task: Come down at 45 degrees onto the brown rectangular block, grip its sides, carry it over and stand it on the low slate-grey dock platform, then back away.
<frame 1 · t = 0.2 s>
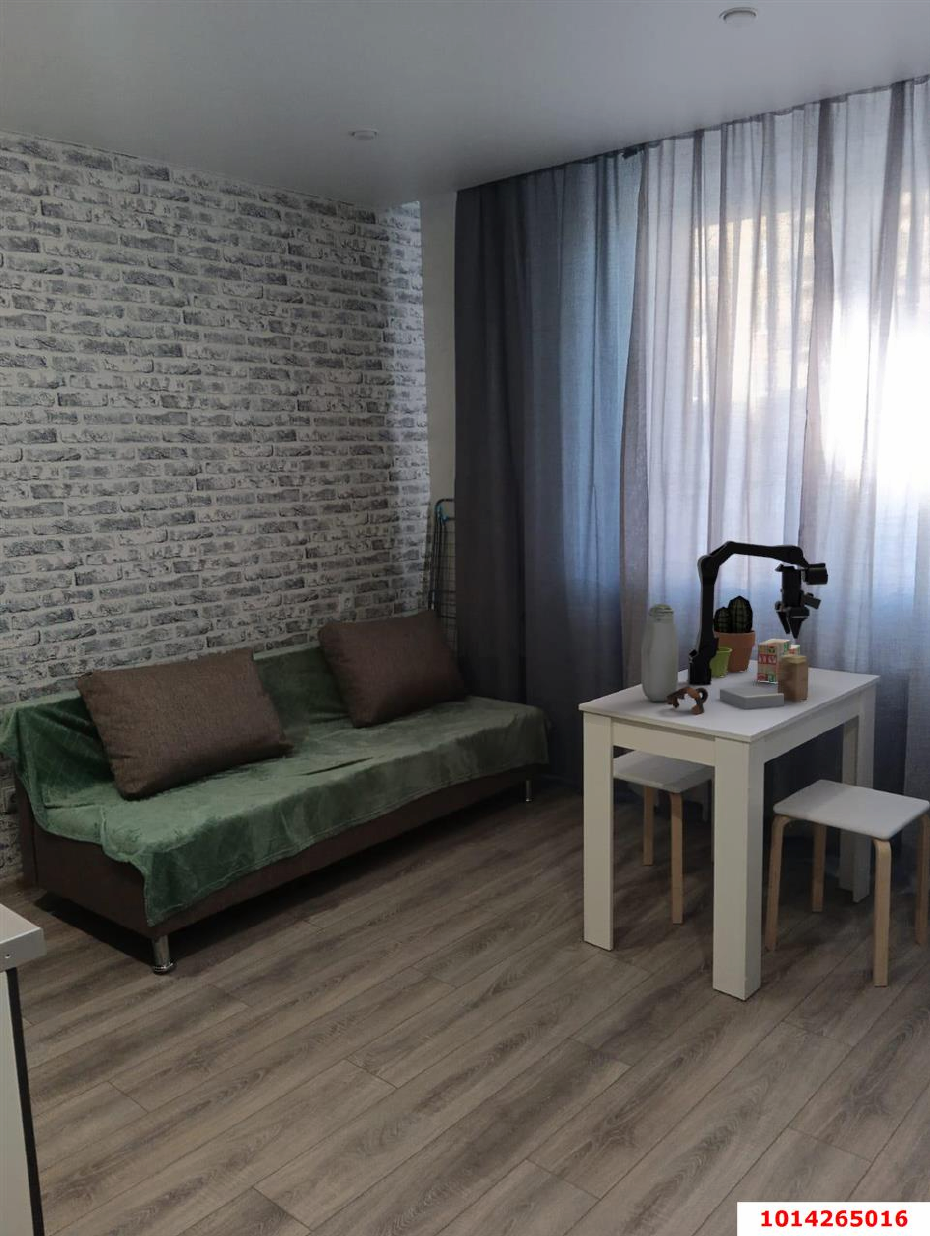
hand: (791, 636, 322), 14 cm above the table, tool pointing down, fingers open, 9 cm apart
glass bottle: (659, 701, 302), on the table
brown rectangular block: (792, 699, 301), on the table
stack of blocks: (779, 678, 333), on the table
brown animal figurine: (689, 711, 288), on the table
dock: (751, 702, 297), on the table
potted plant: (733, 670, 347), on the table
plant pot: (716, 676, 338), on the table
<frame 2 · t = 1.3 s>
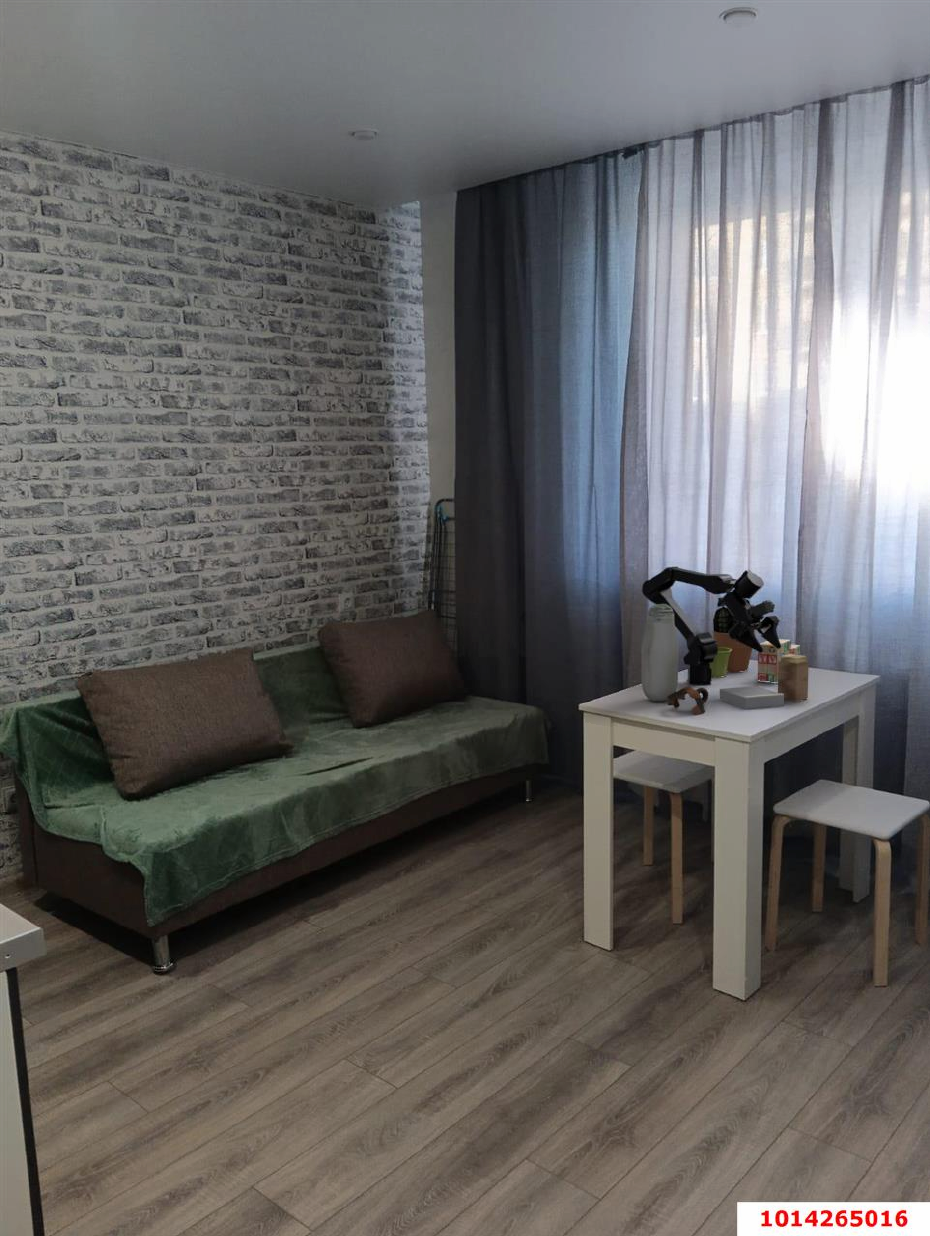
hand: (771, 649, 305), 13 cm above the table, tool tilted 45°, fingers open, 9 cm apart
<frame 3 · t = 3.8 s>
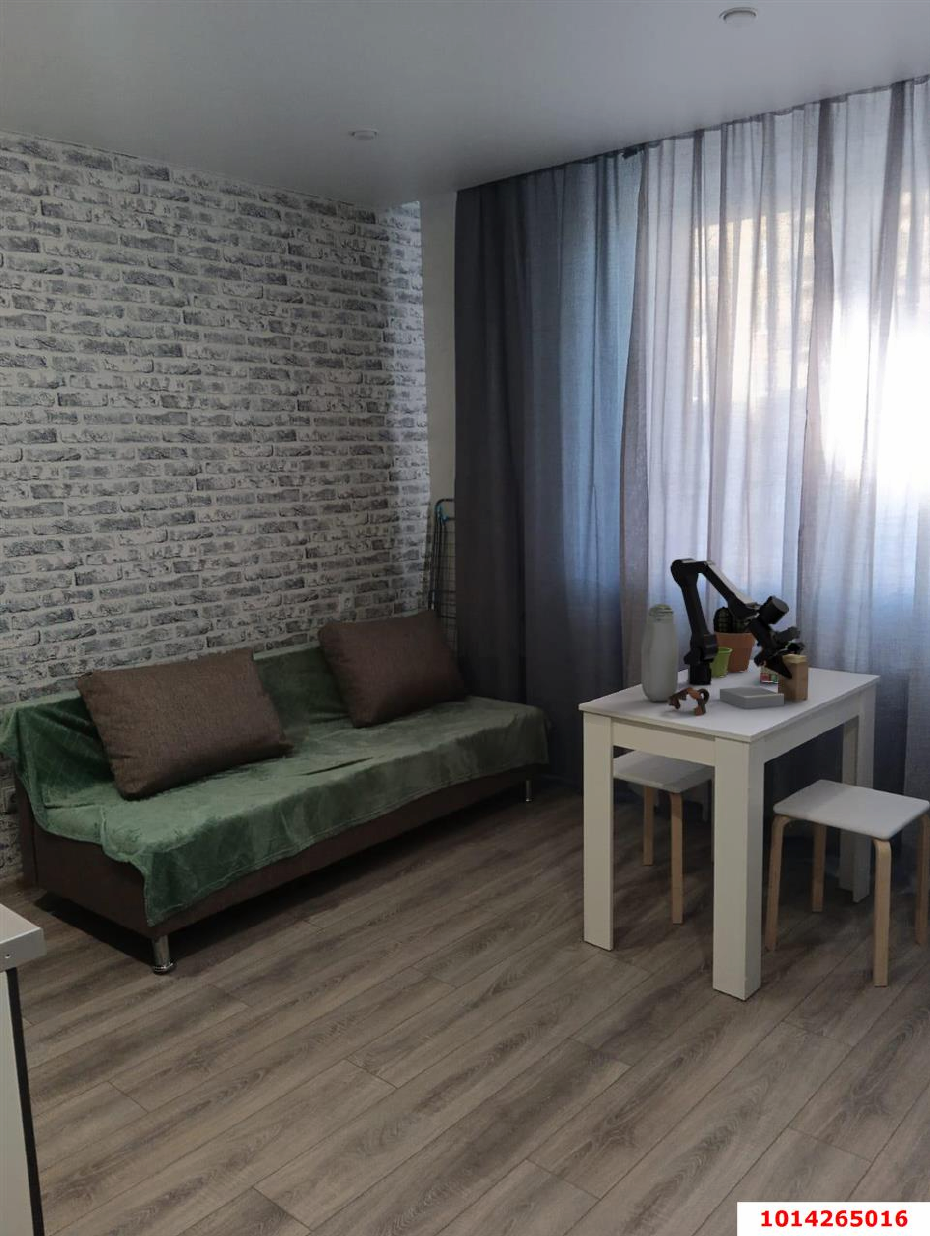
hand: (797, 676, 299), 7 cm above the table, tool tilted 45°, fingers closed on brown rectangular block, 6 cm apart
brown rectangular block: (792, 698, 301), on the table, touching gripper
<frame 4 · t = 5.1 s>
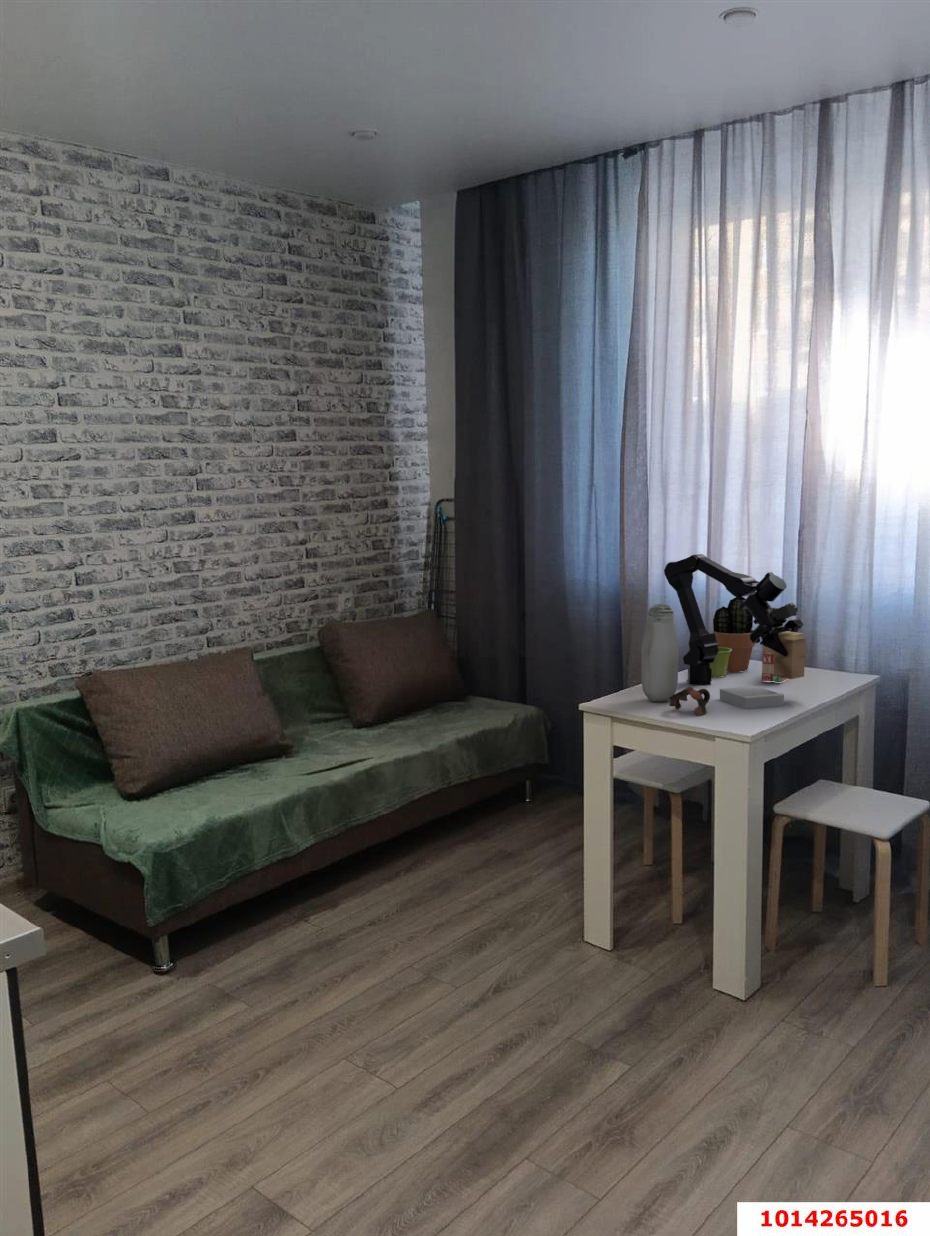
hand: (793, 654, 298), 13 cm above the table, tool tilted 45°, fingers closed on brown rectangular block, 6 cm apart
brown rectangular block: (788, 676, 300), point 7 cm above the table, touching gripper
when the fingers open (11 cm above the table, at t = 6.8 s): brown rectangular block drops 1 cm, resting on dock.
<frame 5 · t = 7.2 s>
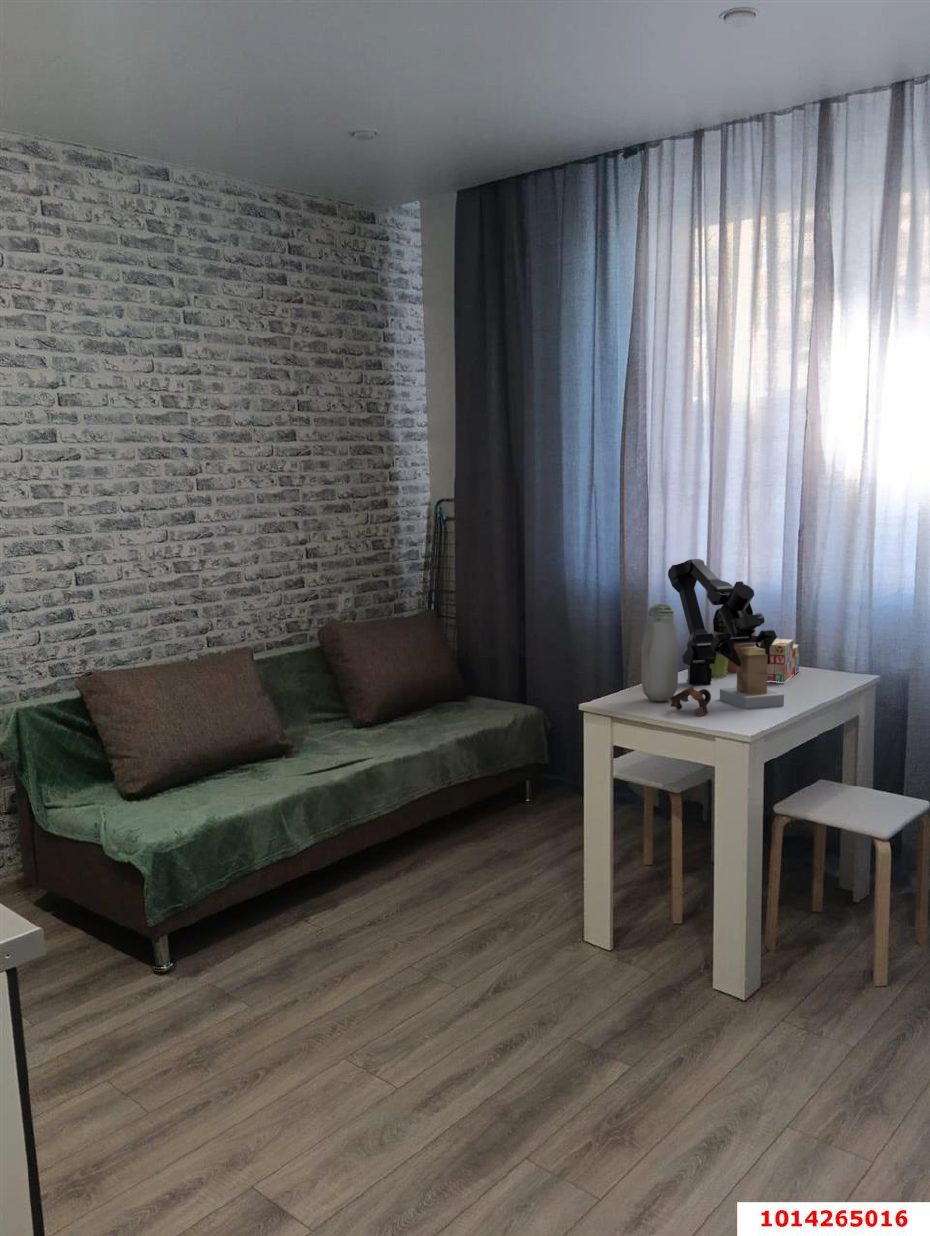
hand: (754, 664, 295), 11 cm above the table, tool tilted 45°, fingers open, 9 cm apart
brown rectangular block: (751, 691, 297), point 3 cm above the table, touching dock
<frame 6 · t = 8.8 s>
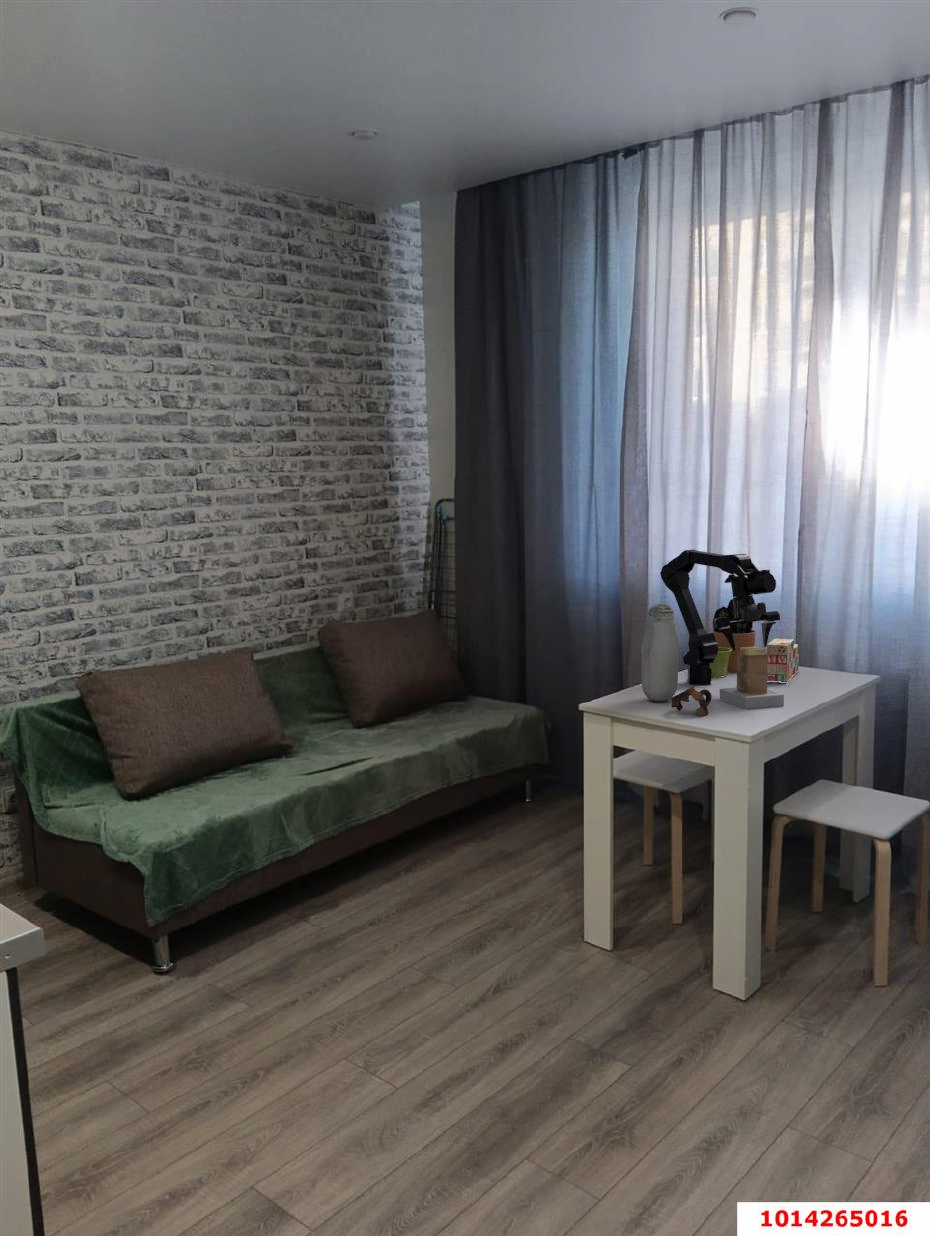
hand: (749, 648, 309), 13 cm above the table, tool pointing down, fingers open, 9 cm apart
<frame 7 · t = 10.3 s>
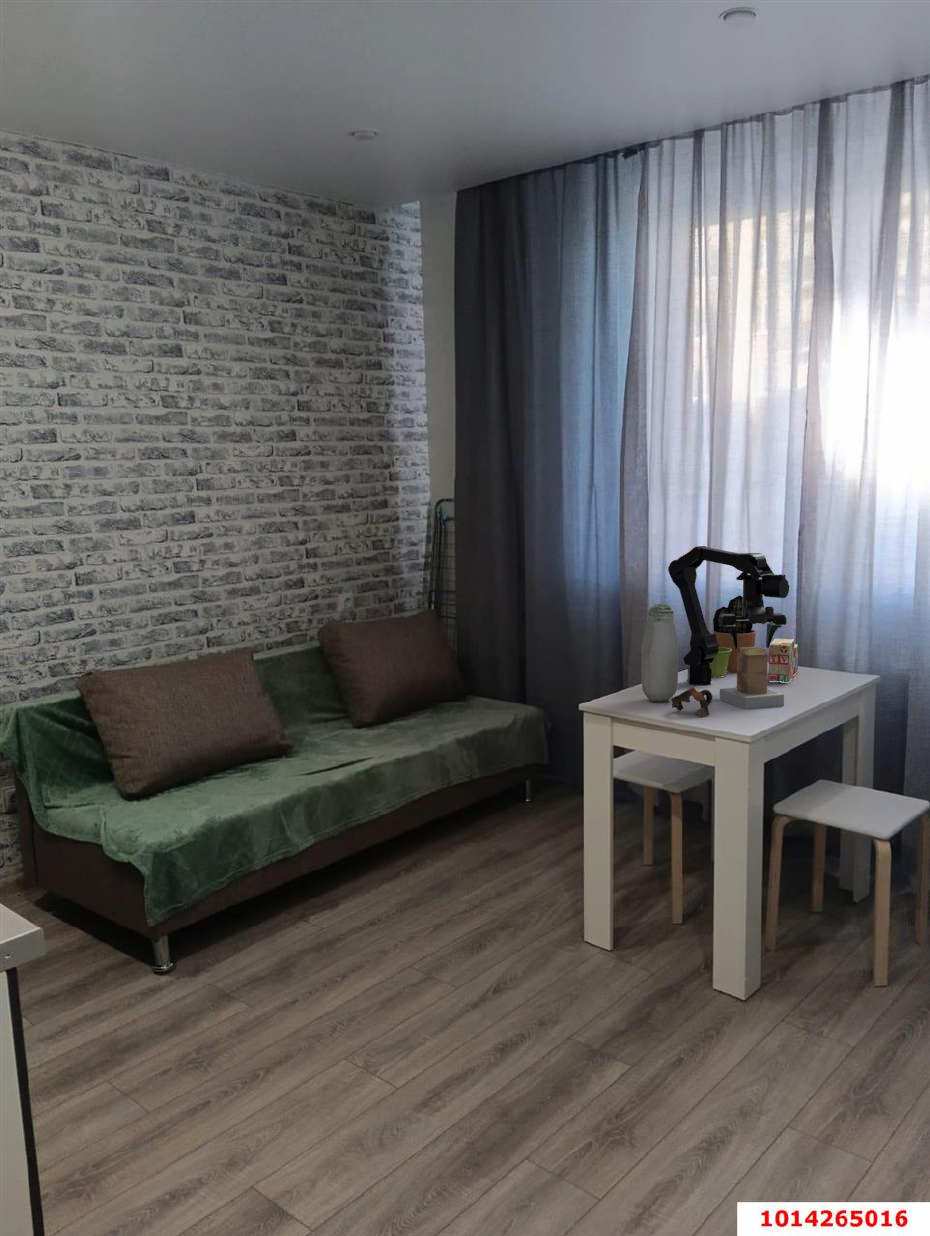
hand: (751, 648, 311), 13 cm above the table, tool pointing down, fingers open, 9 cm apart
at the end: brown rectangular block inside the target area on the dock (0.1 cm from its centre), point 3.0 cm above the dock's base; brown rectangular block tilted 0°; the gripper is holding nothing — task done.
